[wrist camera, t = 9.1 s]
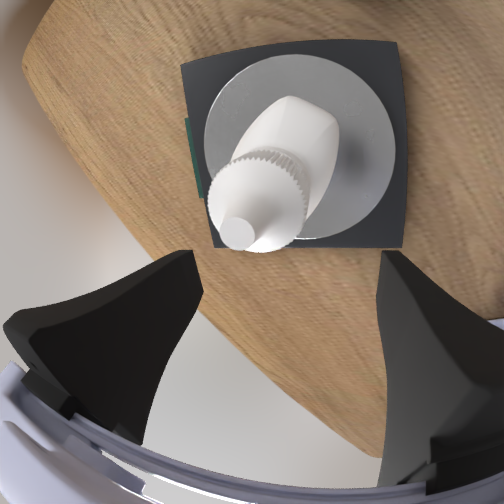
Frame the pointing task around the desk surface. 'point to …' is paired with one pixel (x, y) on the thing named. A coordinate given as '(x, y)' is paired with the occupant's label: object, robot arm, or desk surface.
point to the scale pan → (333, 101)
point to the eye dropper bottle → (275, 176)
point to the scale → (351, 57)
